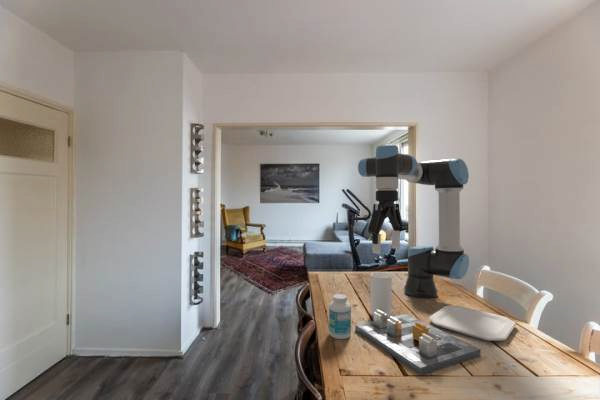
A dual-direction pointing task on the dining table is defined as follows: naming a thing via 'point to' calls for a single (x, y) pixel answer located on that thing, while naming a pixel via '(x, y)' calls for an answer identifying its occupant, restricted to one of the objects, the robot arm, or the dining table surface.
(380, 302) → the cup
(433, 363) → the panel
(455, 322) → the plate
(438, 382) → the dining table surface
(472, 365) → the dining table surface
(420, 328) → the block
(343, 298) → the pill bottle
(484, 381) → the dining table surface
